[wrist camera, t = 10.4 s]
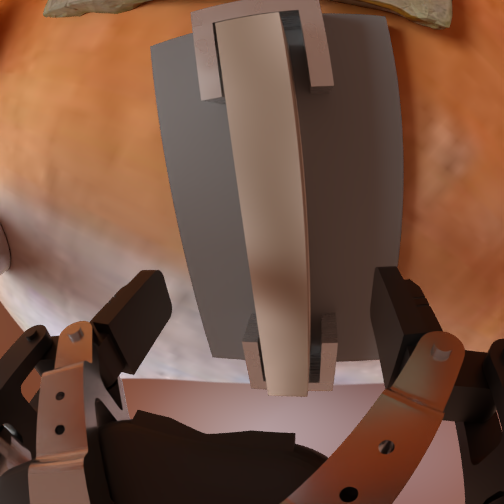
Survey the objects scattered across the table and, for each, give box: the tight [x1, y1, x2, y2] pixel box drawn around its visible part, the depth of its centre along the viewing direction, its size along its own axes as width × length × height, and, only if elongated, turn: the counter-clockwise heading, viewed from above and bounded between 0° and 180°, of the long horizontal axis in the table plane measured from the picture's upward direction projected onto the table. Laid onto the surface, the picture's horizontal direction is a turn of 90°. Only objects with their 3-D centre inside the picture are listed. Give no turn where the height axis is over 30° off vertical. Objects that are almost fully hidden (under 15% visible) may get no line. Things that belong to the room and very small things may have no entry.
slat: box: [215, 12, 311, 397], centre depth 14 cm, size 2×20×5 cm, turn 7°
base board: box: [150, 14, 404, 362], centre depth 17 cm, size 14×24×2 cm, turn 7°
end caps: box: [191, 0, 338, 391], centre depth 15 cm, size 6×24×3 cm, turn 7°
